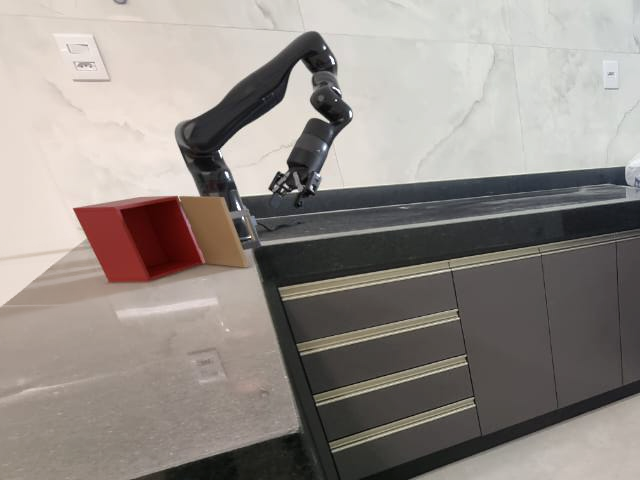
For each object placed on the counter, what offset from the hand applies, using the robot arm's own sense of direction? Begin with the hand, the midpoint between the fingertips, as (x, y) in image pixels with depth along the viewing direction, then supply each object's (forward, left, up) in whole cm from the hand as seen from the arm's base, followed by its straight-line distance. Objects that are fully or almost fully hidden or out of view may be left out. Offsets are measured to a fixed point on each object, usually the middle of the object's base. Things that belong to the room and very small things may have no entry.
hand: (283, 207), depth 136 cm
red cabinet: (+19, -23, -12) cm, 31 cm away
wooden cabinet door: (+11, -8, -11) cm, 18 cm away
